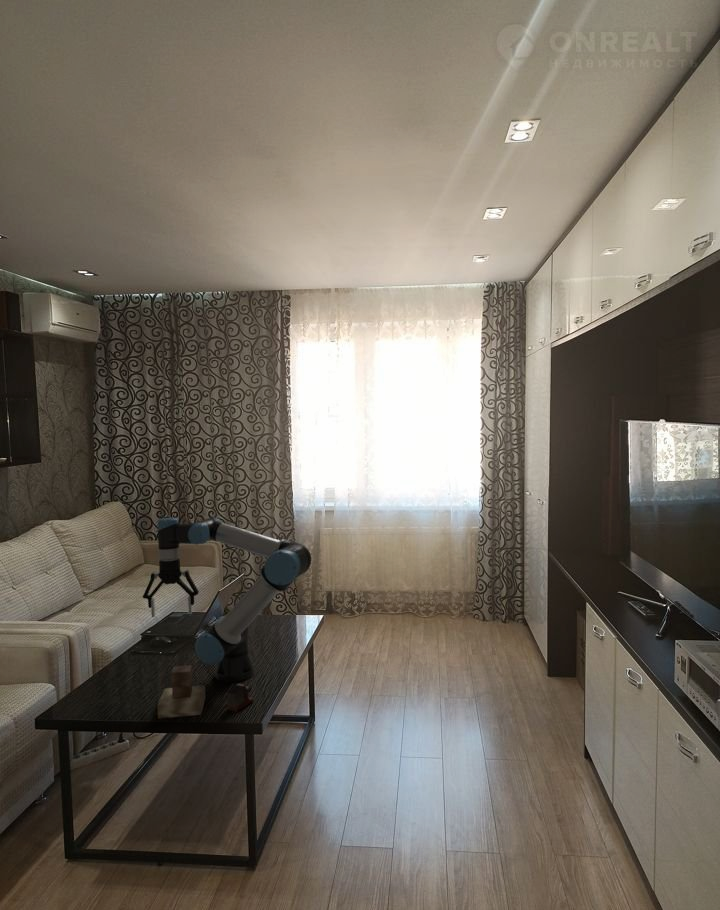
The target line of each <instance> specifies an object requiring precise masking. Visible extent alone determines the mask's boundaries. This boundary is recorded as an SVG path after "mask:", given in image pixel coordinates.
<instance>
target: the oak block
mask: <svg viewBox="0 0 720 910" xmlns="http://www.w3.org/2000/svg"><path fill="white" fill-rule="evenodd" d="M205 701H206V685H205V684H204V685H203V684H202V685H192V694H191V697H188V698H176V699H172V687H168V688H164V689H163V691H162V694H161V695H160V698H159V700H158V703H157V704H156V706H157V719H166V718H167V717H168V718H177V717H189V716H190V717H191V716H200V715H202V712H203V707H204V704H205Z"/></svg>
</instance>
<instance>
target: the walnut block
mask: <svg viewBox="0 0 720 910" xmlns="http://www.w3.org/2000/svg"><path fill="white" fill-rule="evenodd" d="M192 668H193V666H192V665H191V664H190V665H177V666H173V668H172V671H171V688H172V699H176V698H188V697H191V694H192V686H193V669H192Z"/></svg>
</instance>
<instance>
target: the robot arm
mask: <svg viewBox="0 0 720 910" xmlns="http://www.w3.org/2000/svg"><path fill="white" fill-rule="evenodd" d="M156 532H157V539H158V540H157V541H158V542H157V543H158V559H159V562H158V566H159V567H158V568H159V570H158V571H159V572H155V571H153V572H152V573H151V574H150V580H149V581H148V584H147V586H146V588H145V591H144V593H143V595H142V598H143V599H146V600H147V605H148V606H147V607H148V608H149V609H150V611H151V618H154V617H155V616H156V608H155V607H156V606H155V604H156V603H155V598H154V596H155V594H156V593H157V592H159V591H158V590H160V588H161V587H162V586H163V584H165V585H173V584H174V585H175V584H177V585H178V586H180V588H181V589H183V591H184V592H185V593H186V594H188V598H187V601H188V605H187V606H188V615H192V613H193V610H192V606H193V605H195V596H197V595H198V594H199V592H200V591H199V589H198V588H197V586H196V584H195V582H194V580H193V578H192V576H190V570H188V569H187V570H185V571H182V570H181V561H180V545H196V546H197V545H205V544H206V543H207V542H208V540H211V541H214V542H218V543H220V544H224V545H226V546H231V547H233V548H236V549H240V550H242V551H245V552H249V553H252V554H255V555H258V556H261V557H265V558H267V559H266V561H265V562H264V565H263V566H262V568H261V569H260V576H259V577H258V579H257V580H256V581H255V582H254V583H253V584H252V585H251V586H250V588H248V590H247V591H246V592H245V594H243V596H241V598H240V599H239V600H238V601H237V602H236V604H234V606H233V607H232V608H230V610H229V612H228V613H227V614H226V615H223V616H219V617H217V619H216V620H215V621H214V623H213V624H212V625H211V626H210V627H209V628H208V629H207V630H206V632H204V633H202V634H200V636H198V637H197V639H196V641H195V645H194V648H195V653H196V655H197V657H198V659H199V660H200V661H201V662H203V663H204V664H205V665H212V666H213V665H216V666H215V670H214V678H215V680H218V681H220V682H224V683H226V682H227V683H229V682H230V683H232V682H240V681H245V680H247V679H250V678H252V677H253V676H254V675H255V665H254V664H253V663H254V662H253V660H252V658H251V655H250V645H249V644H250V643H249V640H250V639H249V626H250V625H251V623H252V622H253V621H254V620H255V619H256V617H258V616H259V615H260V613H261V612H262V611H263V610H264V609H265V608H266V607H267V605H269V603H270V602H271V600H273V599H274V598H275V596H276V595H277V594H279V593H281V592H282V593H283V592H285V591H286V590H287V589H288V588H289V587H290V586H291V585H292V584H293V583H294V582H295V581H296V580H297V578H298V577H300V576H302V575H304V574H305V573H306V572H307V571H308V570H309V569H310V567H311V565H312V555H311V552H310V550H309V549H308V548H307V547H306V546H305V545H303V544H301V543H299V542H296V541H292V540H290V539H286V538H284V539H281V540H279V539H276V538H273V537H269V536H267V535H263V534H260V533H257V532H254V531H250V530H247V529H243V528H241V527H237V526H234V525H231V524H228V523H224V522H222V521H221V519H219V518H217V517H209V518H206V519H204V520H203V519H202V520H199V521H196V522H192V523H179V520H178V518H177V517H164V518H160V519H158V521H157V530H156ZM181 576H183V577H184V578H185V579H186V581H187V583H188V584H189V586H188V585H187V584H186V583H185V582H184V581H183V580H182V579H181ZM157 578H159V579H160V580H161V581H159V583H158V584H157V585H156V586H155V588H154V589H153V591H152V592H151V593H150V594H149V592H150V591H151V588H152V586H153V584H154V581H155V580H157ZM189 587H190V588H189Z"/></svg>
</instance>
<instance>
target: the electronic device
mask: <svg viewBox="0 0 720 910" xmlns="http://www.w3.org/2000/svg"><path fill="white" fill-rule="evenodd" d="M251 691H252V688H251V686H249V685H246V684H242V683H237V684H236V685H234V686H233V687H232V688H230V689H229V690H227V694H226V695H227V701H226V711H228V712H229V711H230V712H234V713H237V712H238V711H240V710H241V709H243V708H245V707H246V706H248V705H249V704H253V703H254V701H255V698H253V697H249V693H250V692H251Z"/></svg>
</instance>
